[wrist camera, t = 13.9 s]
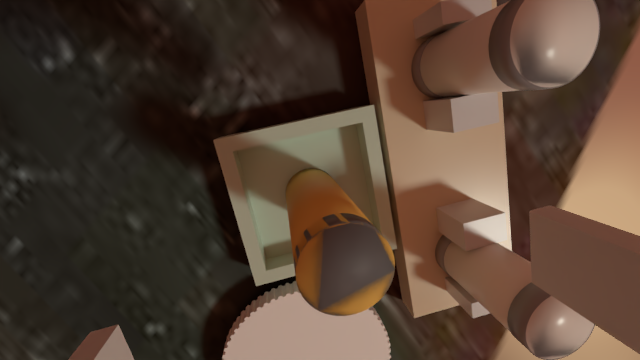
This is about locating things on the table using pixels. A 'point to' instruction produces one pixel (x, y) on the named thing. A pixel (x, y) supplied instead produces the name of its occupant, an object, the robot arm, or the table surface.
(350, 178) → the tray
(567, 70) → the block
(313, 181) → the cylinder
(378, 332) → the plastic lid
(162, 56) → the table surface
